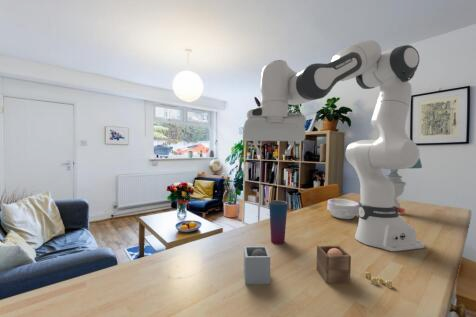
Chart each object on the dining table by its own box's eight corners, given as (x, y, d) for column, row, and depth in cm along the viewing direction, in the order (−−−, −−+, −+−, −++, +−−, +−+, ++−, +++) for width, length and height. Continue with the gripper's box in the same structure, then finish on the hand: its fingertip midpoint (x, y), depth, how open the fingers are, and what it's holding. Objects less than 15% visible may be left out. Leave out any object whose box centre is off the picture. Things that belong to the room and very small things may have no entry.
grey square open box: (266, 271, 64) (266, 246, 64) (270, 285, 57) (270, 257, 57) (243, 272, 64) (243, 246, 63) (245, 285, 57) (245, 257, 57)
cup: (287, 246, 81) (287, 205, 80) (268, 244, 82) (268, 204, 82) (286, 238, 88) (287, 200, 87) (269, 237, 89) (269, 199, 88)
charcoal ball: (261, 257, 63) (268, 249, 61) (261, 270, 59) (269, 261, 57) (248, 252, 62) (256, 243, 60) (248, 264, 58) (256, 255, 57)
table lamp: (423, 222, 109) (426, 139, 107) (366, 214, 122) (368, 140, 120) (416, 211, 129) (419, 141, 127) (369, 205, 142) (371, 142, 140)
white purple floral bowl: (365, 221, 110) (365, 205, 109) (334, 221, 110) (334, 205, 109) (350, 212, 125) (350, 198, 124) (322, 212, 125) (323, 198, 125)
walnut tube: (338, 270, 65) (338, 245, 64) (350, 284, 58) (350, 256, 58) (316, 271, 64) (316, 245, 64) (325, 284, 58) (326, 256, 58)
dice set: (393, 291, 56) (393, 284, 56) (371, 289, 57) (371, 281, 57) (383, 279, 61) (384, 273, 61) (363, 278, 62) (363, 271, 62)
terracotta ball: (337, 251, 63) (344, 247, 60) (340, 266, 61) (347, 263, 58) (323, 249, 63) (329, 245, 60) (326, 265, 61) (332, 261, 58)
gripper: (302, 114, 76) (301, 155, 77) (242, 113, 76) (242, 154, 76) (308, 111, 70) (308, 155, 71) (243, 110, 69) (243, 155, 70)
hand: (273, 155), depth 73 cm, fingers open, 8 cm apart
